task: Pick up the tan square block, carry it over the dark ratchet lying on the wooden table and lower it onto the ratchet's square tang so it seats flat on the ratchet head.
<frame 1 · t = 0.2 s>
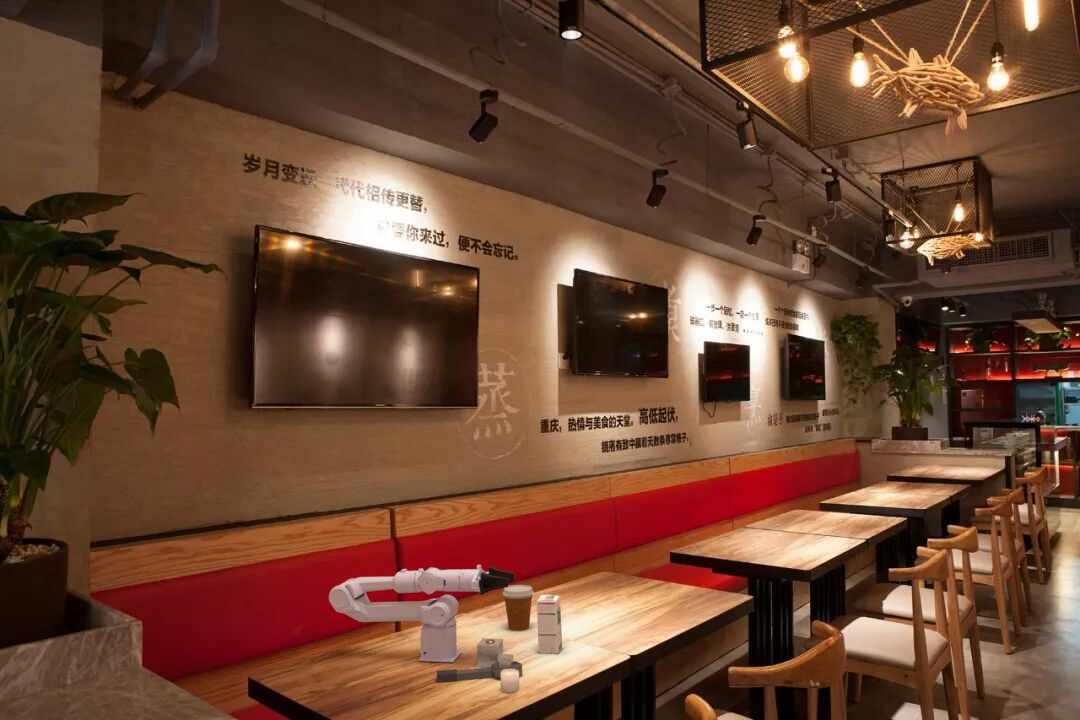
hand: (511, 580, 189), 21 cm above the table, tool horizontal, fingers open, 7 cm apart
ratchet: (506, 674, 177), on the table
tan square block: (490, 663, 185), on the table
syrup box: (550, 651, 194), on the table
pale pink cylinder: (510, 689, 168), on the table
disposable coffee cup: (518, 628, 215), on the table
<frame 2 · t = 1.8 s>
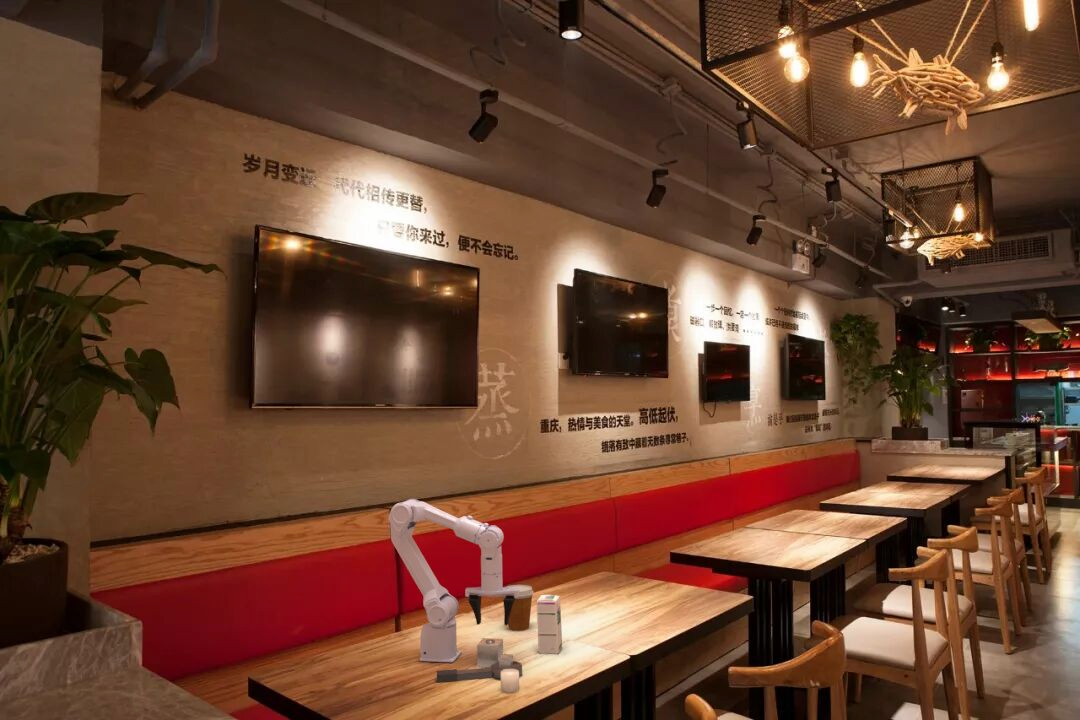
hand: (492, 623, 189), 9 cm above the table, tool pointing down, fingers open, 7 cm apart
nothing on the table moved.
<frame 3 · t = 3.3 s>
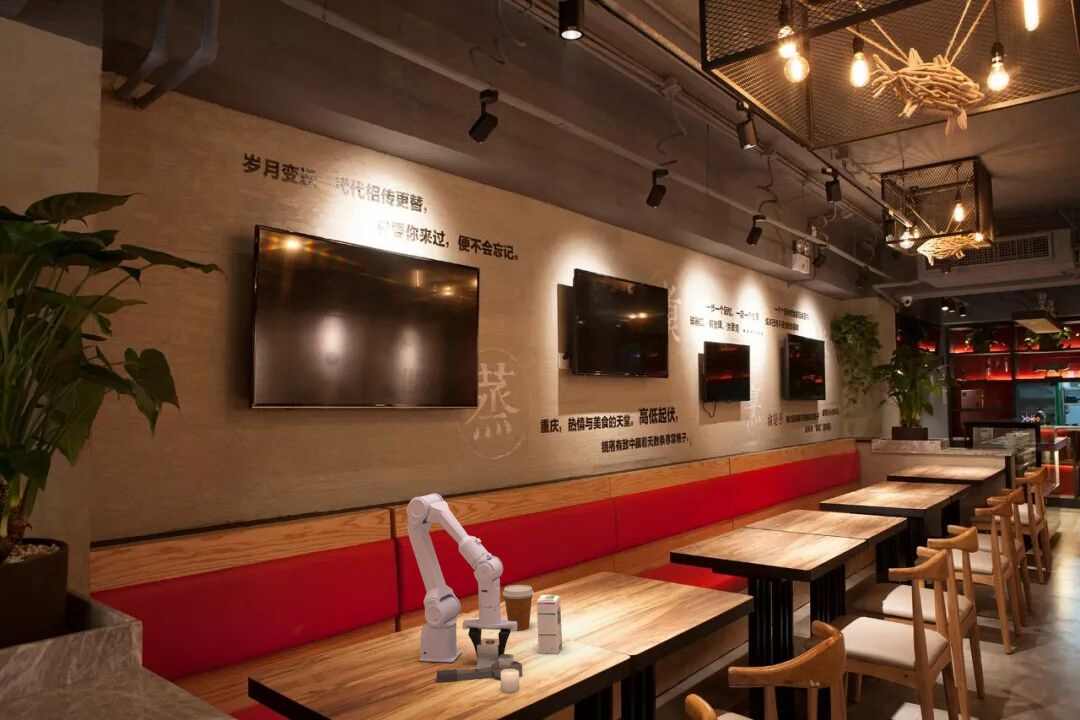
hand: (490, 657, 185), 2 cm above the table, tool pointing down, fingers closed on tan square block, 6 cm apart
tan square block: (490, 663, 185), on the table, touching gripper
everything else where it was.
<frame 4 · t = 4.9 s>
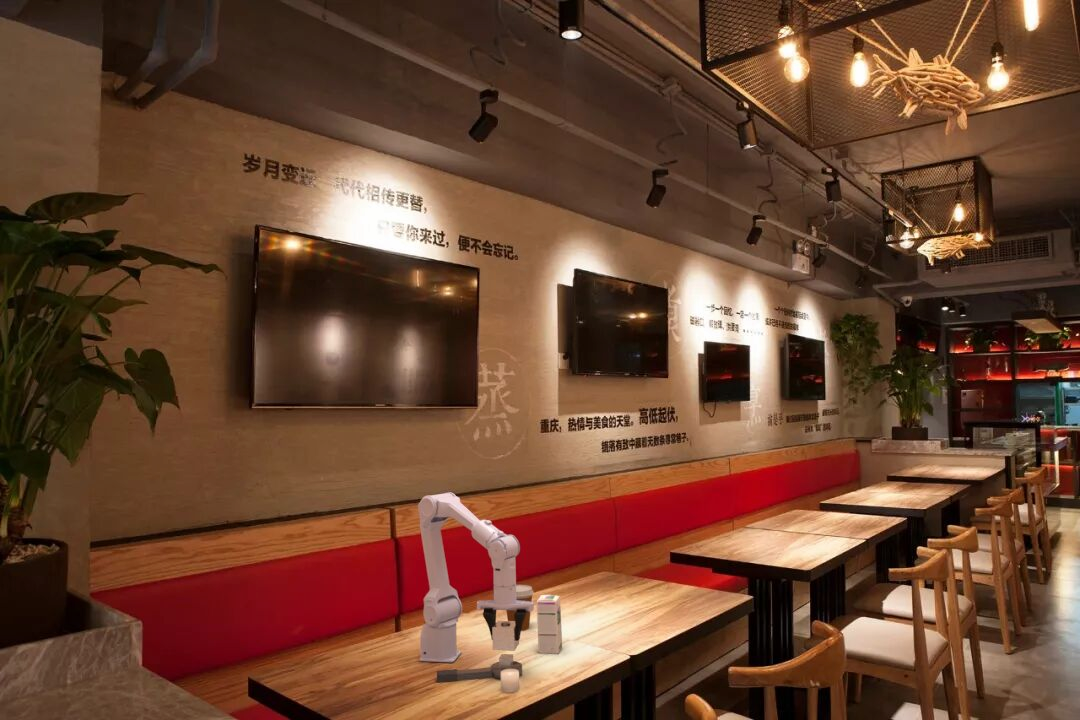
hand: (505, 639, 178), 9 cm above the table, tool pointing down, fingers closed on tan square block, 6 cm apart
tan square block: (506, 646, 178), point 7 cm above the table, touching gripper
everything else where it was.
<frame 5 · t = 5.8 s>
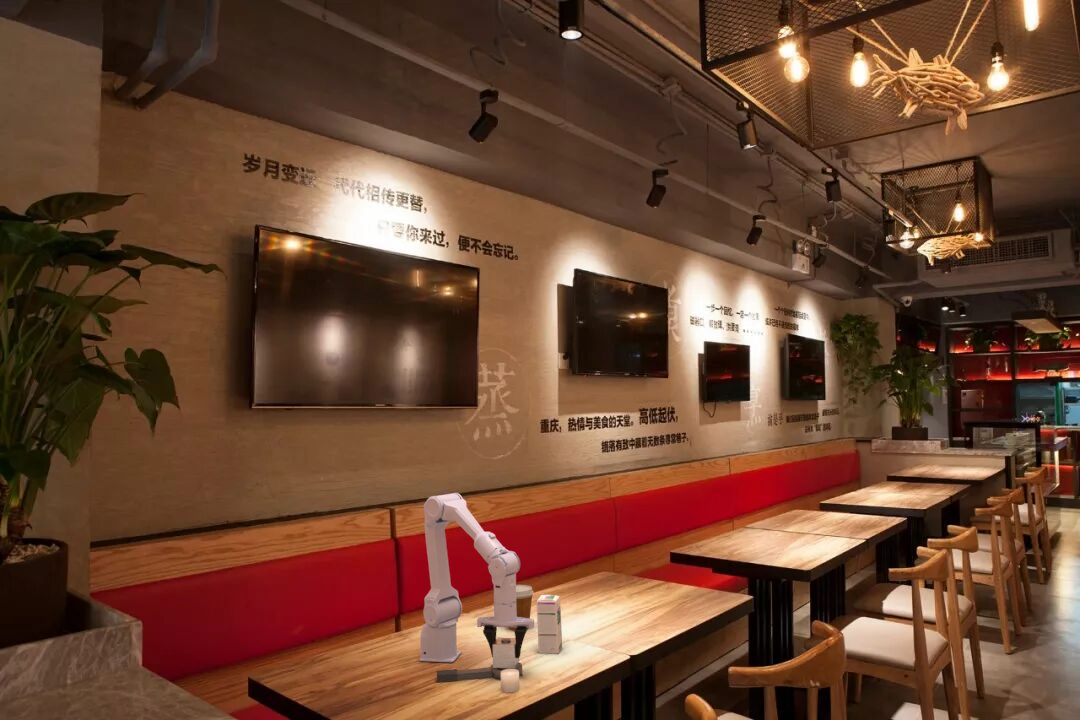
hand: (506, 656, 177), 4 cm above the table, tool pointing down, fingers closed on tan square block, 6 cm apart
tan square block: (506, 663, 177), point 3 cm above the table, touching gripper
everything else where it was.
when the fingers open (4 cm above the table, at t = 6.4 s): tan square block stays where it is, resting on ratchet.
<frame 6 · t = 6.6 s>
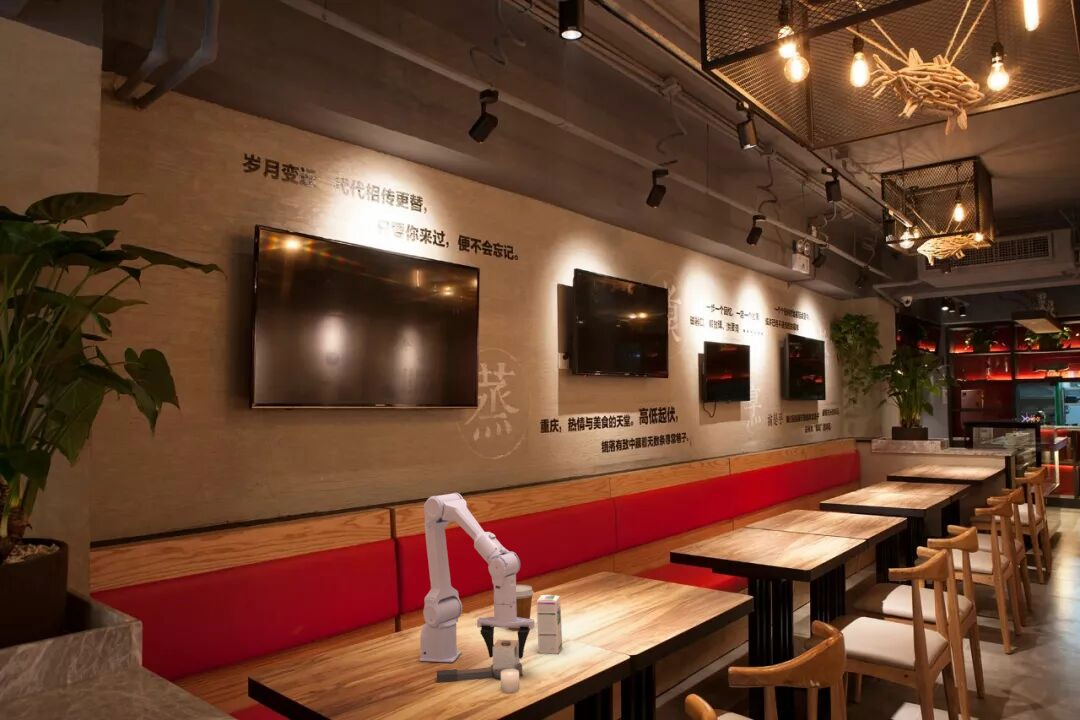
hand: (506, 656, 177), 4 cm above the table, tool pointing down, fingers open, 7 cm apart
tan square block: (506, 666, 177), point 2 cm above the table, touching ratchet
everything else where it was.
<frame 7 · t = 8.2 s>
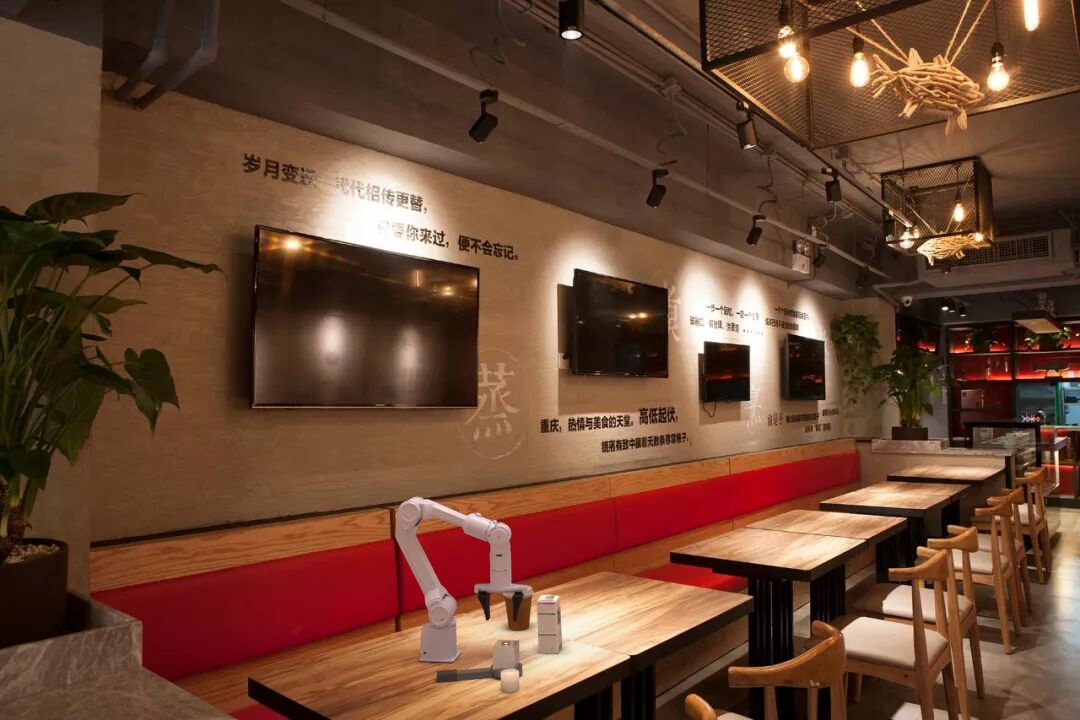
hand: (501, 619, 190), 10 cm above the table, tool pointing down, fingers open, 7 cm apart
nothing on the table moved.
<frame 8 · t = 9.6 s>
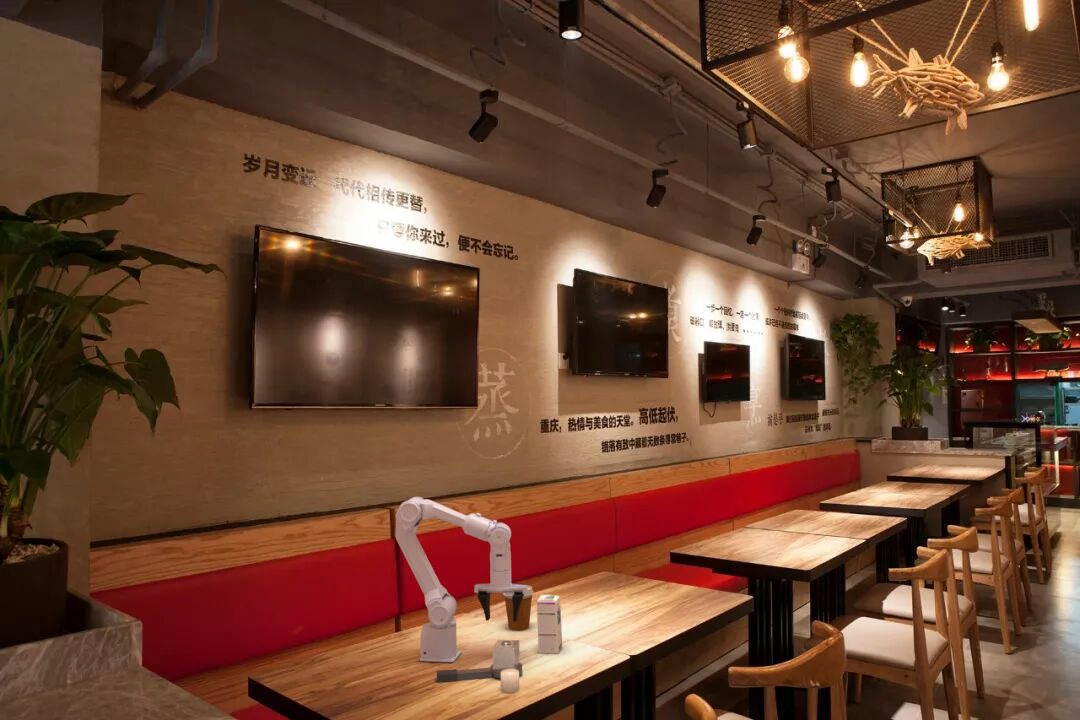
hand: (501, 619, 190), 10 cm above the table, tool pointing down, fingers open, 7 cm apart
nothing on the table moved.
at the end: tan square block 0.1 cm off-centre on the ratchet, point 2.0 cm above the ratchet's base; tan square block tilted 0°; the gripper is holding nothing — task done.
